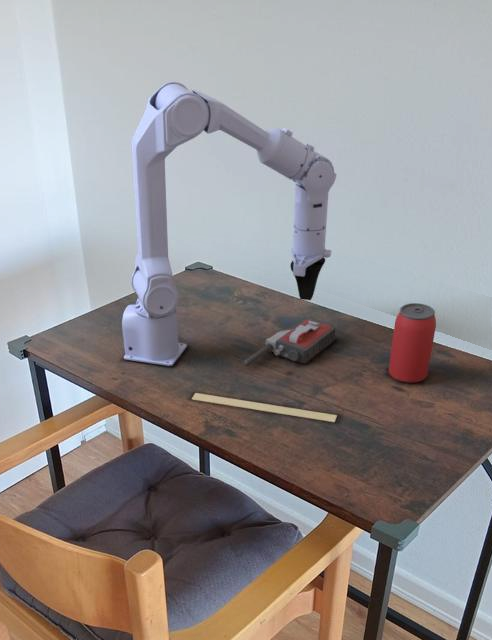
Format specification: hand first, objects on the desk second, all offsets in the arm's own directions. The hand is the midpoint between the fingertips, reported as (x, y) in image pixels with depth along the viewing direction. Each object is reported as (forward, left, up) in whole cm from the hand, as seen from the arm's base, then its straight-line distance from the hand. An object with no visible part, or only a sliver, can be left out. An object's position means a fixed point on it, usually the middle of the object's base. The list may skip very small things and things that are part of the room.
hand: (306, 298), depth 140 cm
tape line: (0, -29, -6) cm, 30 cm away
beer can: (+21, -12, -6) cm, 25 cm away
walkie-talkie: (0, -10, -6) cm, 12 cm away
